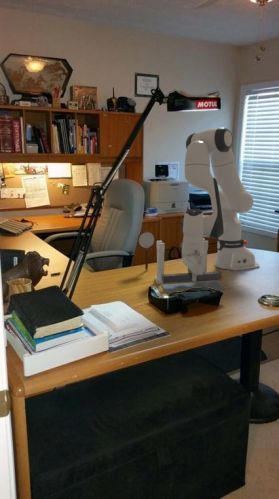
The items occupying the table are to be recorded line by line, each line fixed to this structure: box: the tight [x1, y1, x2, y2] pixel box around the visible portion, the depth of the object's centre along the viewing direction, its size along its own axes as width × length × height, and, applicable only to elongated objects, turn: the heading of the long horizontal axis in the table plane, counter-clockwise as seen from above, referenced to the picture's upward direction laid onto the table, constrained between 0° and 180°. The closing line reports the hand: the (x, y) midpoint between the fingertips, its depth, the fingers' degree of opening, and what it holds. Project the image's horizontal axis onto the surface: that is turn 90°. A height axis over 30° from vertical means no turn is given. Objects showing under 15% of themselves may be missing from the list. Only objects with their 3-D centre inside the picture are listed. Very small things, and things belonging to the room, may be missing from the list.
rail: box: [162, 270, 223, 284], centre depth 174 cm, size 26×3×3 cm, turn 99°
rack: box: [154, 238, 209, 285], centre depth 183 cm, size 24×6×18 cm, turn 100°
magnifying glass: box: [137, 230, 156, 272], centre depth 198 cm, size 9×2×20 cm, turn 103°
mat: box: [161, 280, 227, 294], centre depth 175 cm, size 26×10×1 cm, turn 100°
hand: (192, 279), depth 175 cm, fingers closed on rail, 3 cm apart
